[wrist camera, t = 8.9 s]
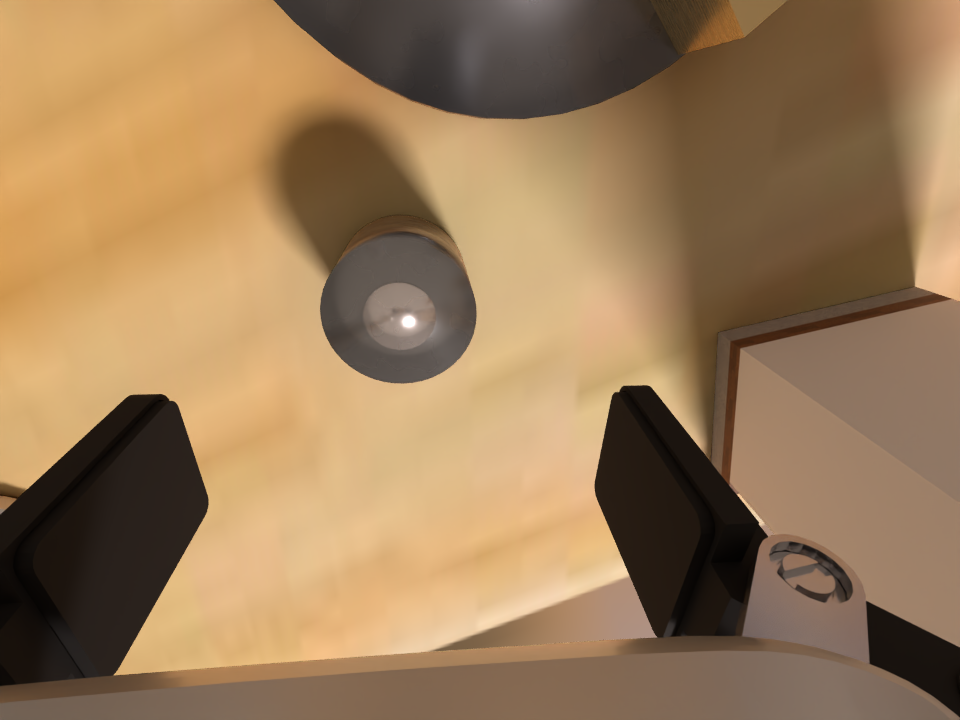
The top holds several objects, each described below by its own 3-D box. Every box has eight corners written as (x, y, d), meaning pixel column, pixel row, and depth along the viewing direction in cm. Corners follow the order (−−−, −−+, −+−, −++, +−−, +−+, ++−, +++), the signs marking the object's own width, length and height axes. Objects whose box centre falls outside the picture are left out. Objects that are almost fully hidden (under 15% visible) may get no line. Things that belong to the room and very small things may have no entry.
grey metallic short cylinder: (464, 333, 24) (474, 382, 20) (347, 336, 23) (329, 386, 19) (466, 215, 21) (478, 240, 17) (333, 214, 21) (309, 239, 16)
